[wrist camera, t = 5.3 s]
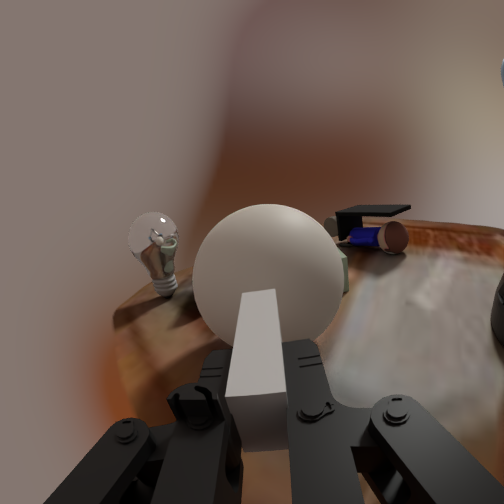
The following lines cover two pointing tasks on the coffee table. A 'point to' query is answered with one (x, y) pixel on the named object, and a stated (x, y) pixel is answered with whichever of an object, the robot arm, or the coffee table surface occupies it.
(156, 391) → the coffee table surface
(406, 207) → the figurine character
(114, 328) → the coffee table surface
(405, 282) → the coffee table surface
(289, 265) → the ball
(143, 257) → the light bulb
